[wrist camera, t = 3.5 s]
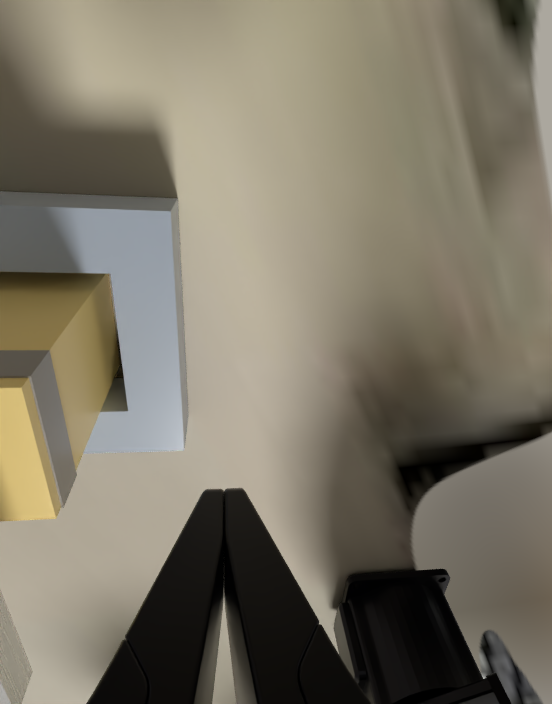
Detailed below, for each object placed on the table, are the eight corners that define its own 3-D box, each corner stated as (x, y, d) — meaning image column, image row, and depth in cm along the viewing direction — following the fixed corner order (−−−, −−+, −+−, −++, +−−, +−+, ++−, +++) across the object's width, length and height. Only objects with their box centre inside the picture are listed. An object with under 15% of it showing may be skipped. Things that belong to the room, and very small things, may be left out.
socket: (177, 198, 15) (170, 211, 13) (188, 414, 20) (184, 450, 18) (-118, 186, 14) (-177, 198, 12) (-36, 419, 19) (-68, 457, 16)
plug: (109, 269, 16) (23, 385, 9) (121, 364, 18) (58, 520, 11) (-9, 267, 16) (-193, 388, 9) (17, 365, 18) (-118, 528, 11)
